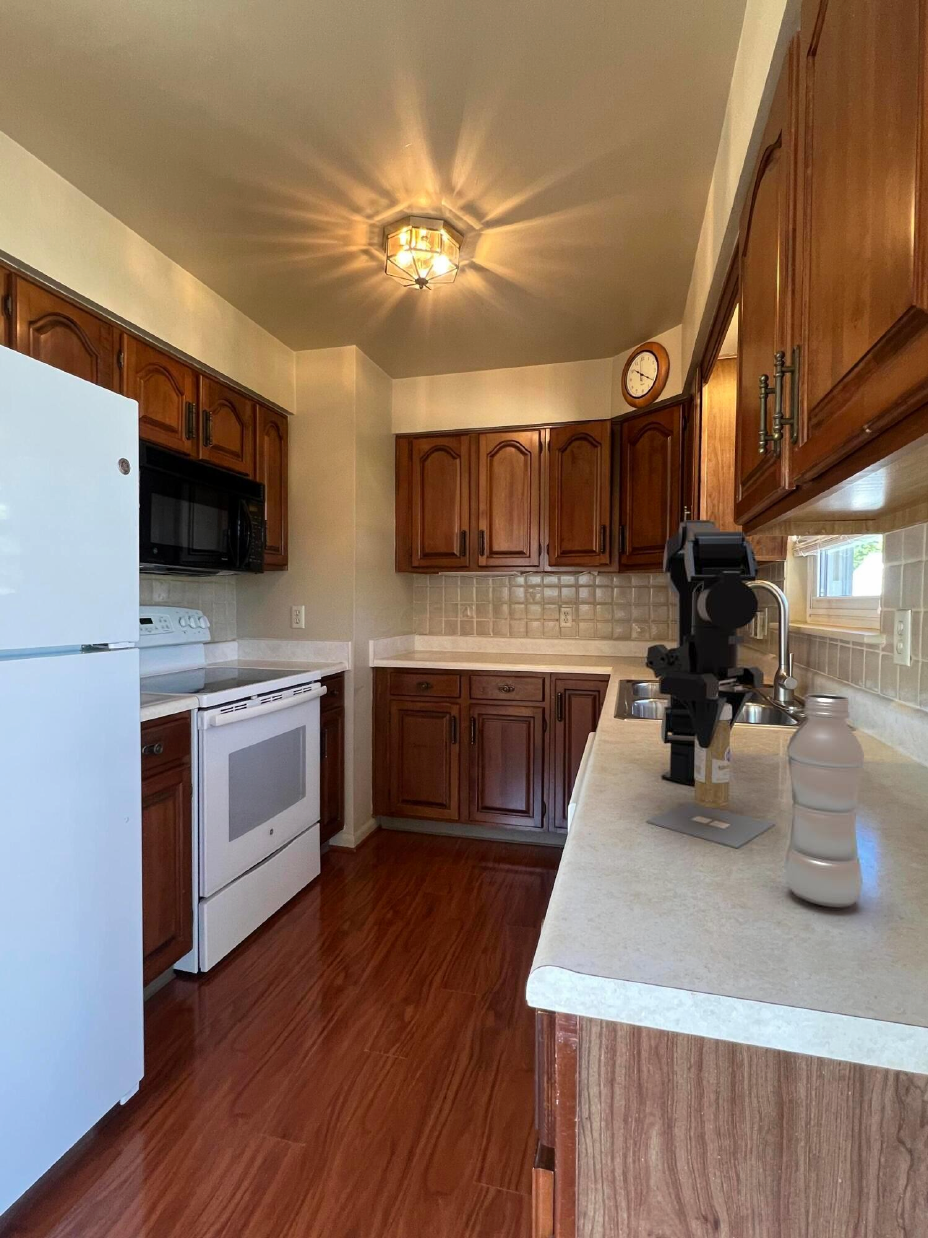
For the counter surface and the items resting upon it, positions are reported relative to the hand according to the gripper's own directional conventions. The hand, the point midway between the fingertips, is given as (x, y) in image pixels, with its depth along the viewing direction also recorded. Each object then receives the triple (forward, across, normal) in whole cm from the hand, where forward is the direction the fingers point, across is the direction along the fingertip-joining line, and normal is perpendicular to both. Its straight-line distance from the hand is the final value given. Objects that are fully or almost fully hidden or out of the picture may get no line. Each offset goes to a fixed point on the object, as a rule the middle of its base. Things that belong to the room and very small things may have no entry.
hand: (712, 745), depth 81 cm
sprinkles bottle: (+8, 0, 0) cm, 8 cm away
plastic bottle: (+11, +13, +17) cm, 24 cm away
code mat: (+10, 0, 0) cm, 10 cm away
